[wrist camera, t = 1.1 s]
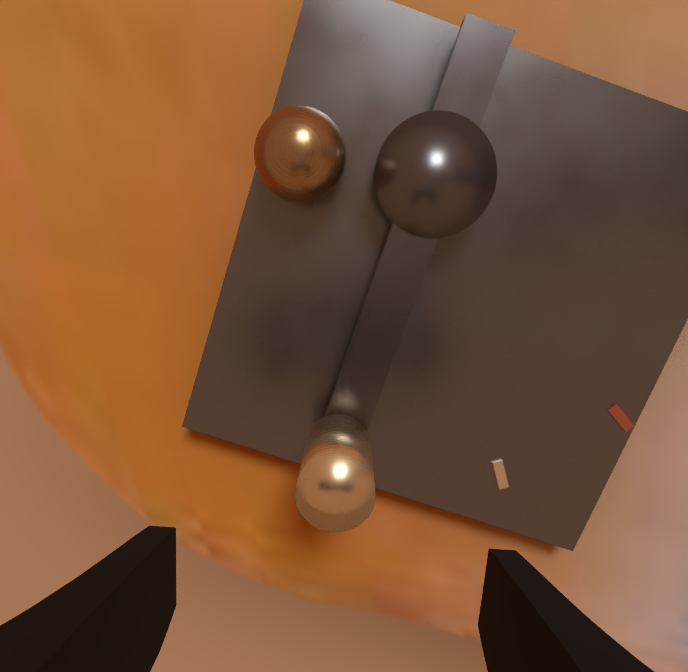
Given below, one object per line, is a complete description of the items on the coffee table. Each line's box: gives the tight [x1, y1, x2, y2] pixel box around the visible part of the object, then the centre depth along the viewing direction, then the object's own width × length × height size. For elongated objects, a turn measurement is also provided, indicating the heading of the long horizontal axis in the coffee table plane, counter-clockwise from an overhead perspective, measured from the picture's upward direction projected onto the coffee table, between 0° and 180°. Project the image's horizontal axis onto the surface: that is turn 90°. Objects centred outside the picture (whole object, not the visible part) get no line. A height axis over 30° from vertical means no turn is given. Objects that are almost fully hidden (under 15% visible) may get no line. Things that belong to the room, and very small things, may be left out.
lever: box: [295, 13, 515, 532], centre depth 15 cm, size 16×4×4 cm, turn 161°
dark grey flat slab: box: [182, 0, 688, 551], centre depth 18 cm, size 17×17×4 cm
